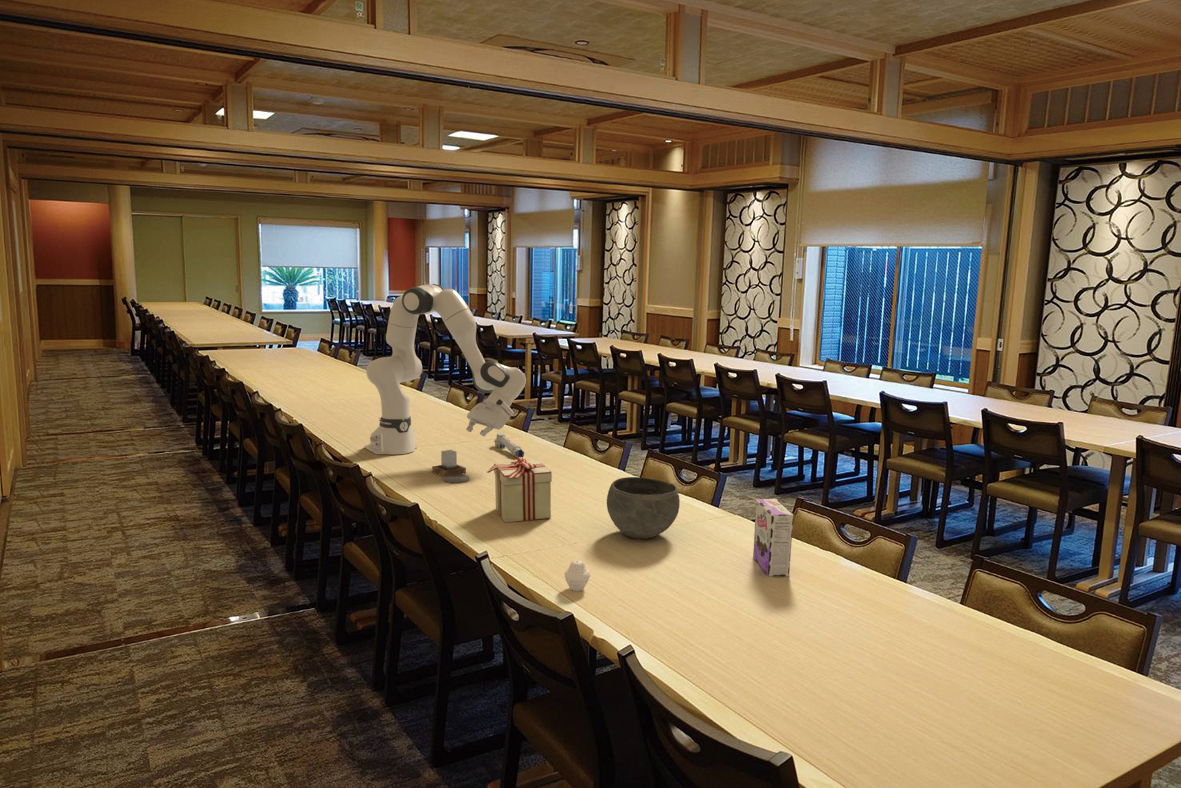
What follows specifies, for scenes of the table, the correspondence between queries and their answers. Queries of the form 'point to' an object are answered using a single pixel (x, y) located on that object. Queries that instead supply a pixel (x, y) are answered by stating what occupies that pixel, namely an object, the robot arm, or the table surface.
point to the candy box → (773, 537)
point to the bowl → (642, 506)
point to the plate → (456, 478)
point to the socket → (446, 472)
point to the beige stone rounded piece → (577, 576)
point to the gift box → (522, 490)
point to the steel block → (448, 460)
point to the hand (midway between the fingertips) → (474, 432)
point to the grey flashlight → (508, 445)
